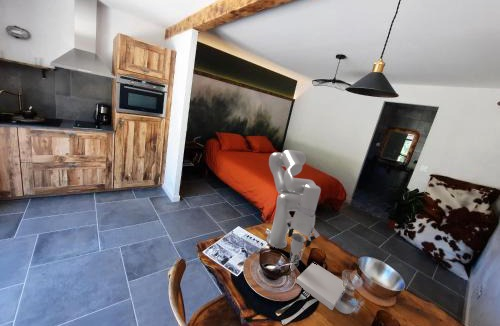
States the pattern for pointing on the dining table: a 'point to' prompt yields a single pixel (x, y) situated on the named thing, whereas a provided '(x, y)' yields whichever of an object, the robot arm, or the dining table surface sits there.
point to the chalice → (296, 246)
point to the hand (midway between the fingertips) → (298, 241)
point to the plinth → (321, 285)
